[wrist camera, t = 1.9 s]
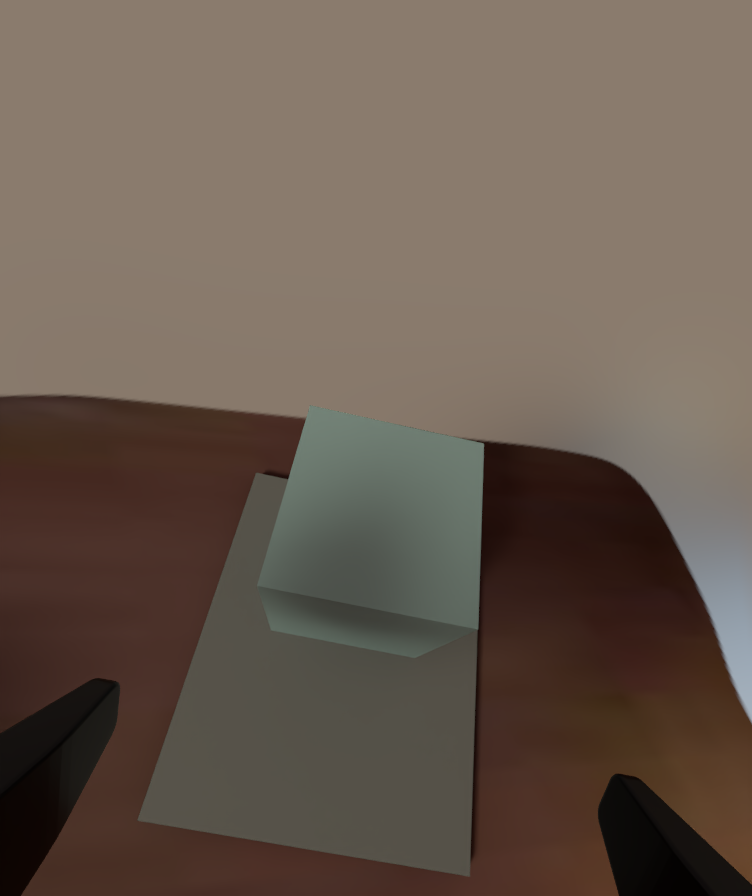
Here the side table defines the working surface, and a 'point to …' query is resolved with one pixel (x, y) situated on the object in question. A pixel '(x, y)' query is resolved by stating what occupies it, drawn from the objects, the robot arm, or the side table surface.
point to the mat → (317, 731)
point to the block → (377, 537)
